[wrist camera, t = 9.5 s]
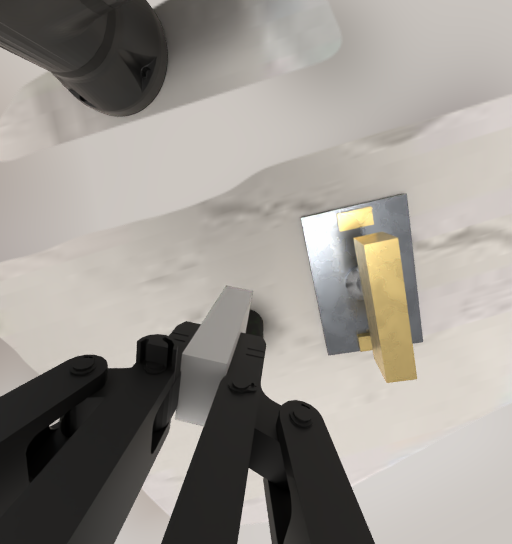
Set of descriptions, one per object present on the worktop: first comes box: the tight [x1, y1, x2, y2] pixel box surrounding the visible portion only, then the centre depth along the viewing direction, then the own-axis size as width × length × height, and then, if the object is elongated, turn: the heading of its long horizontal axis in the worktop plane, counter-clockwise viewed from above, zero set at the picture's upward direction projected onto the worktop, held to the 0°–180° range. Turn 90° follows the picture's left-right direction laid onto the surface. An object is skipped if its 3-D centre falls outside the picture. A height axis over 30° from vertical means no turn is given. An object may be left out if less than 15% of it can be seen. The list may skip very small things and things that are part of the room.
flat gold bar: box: [353, 232, 417, 383], centre depth 32 cm, size 3×16×7 cm, turn 14°
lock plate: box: [301, 194, 423, 355], centre depth 39 cm, size 22×14×6 cm, turn 14°
